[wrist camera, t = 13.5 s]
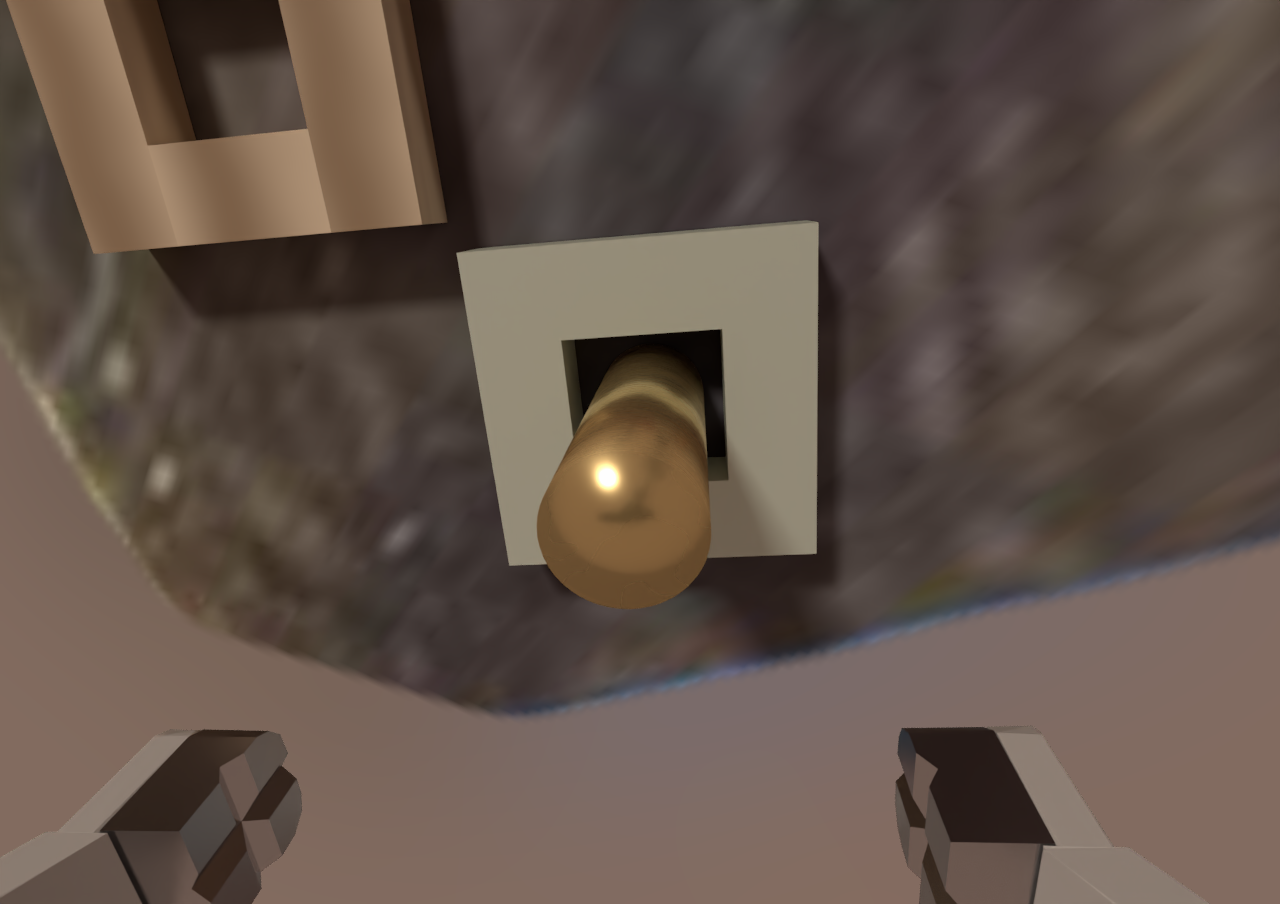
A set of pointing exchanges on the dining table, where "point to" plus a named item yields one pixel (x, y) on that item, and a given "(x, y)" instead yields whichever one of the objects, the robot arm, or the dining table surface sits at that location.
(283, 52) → the dining table surface
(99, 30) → the birch mount
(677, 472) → the pin
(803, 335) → the socket block
